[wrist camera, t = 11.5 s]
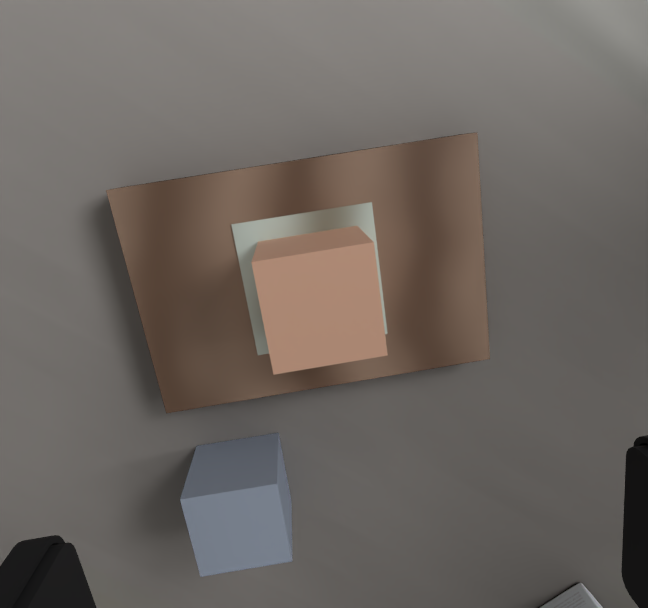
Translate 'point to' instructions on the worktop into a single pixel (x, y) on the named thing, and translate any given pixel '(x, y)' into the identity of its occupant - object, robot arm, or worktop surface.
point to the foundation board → (296, 219)
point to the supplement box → (574, 599)
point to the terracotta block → (319, 299)
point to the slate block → (238, 505)
